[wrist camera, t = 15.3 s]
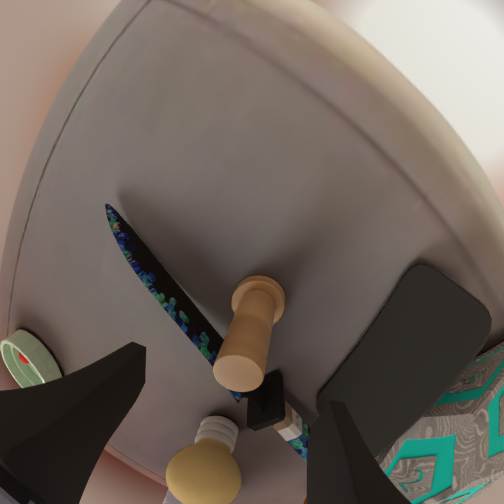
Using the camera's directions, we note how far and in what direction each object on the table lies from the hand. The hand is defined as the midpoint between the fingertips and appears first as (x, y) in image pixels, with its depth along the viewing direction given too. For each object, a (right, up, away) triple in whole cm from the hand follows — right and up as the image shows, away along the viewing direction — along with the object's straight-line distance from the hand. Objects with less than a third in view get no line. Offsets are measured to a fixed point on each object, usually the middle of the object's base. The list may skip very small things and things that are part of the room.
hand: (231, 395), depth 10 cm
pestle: (+1, +2, +10) cm, 10 cm away
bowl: (-27, -9, +18) cm, 33 cm away
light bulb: (-2, -11, +15) cm, 19 cm away
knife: (0, -2, +12) cm, 12 cm away
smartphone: (+8, -10, +10) cm, 16 cm away
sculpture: (+29, -1, +7) cm, 30 cm away
